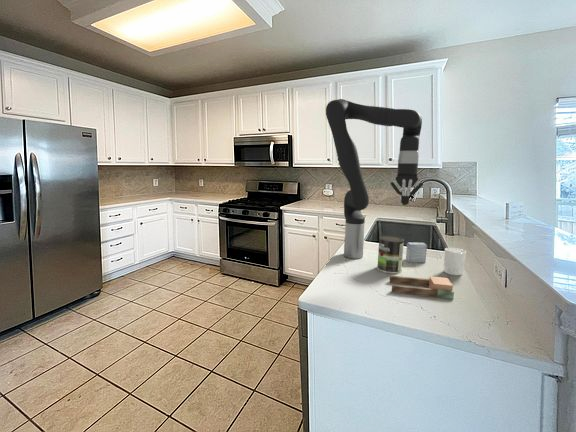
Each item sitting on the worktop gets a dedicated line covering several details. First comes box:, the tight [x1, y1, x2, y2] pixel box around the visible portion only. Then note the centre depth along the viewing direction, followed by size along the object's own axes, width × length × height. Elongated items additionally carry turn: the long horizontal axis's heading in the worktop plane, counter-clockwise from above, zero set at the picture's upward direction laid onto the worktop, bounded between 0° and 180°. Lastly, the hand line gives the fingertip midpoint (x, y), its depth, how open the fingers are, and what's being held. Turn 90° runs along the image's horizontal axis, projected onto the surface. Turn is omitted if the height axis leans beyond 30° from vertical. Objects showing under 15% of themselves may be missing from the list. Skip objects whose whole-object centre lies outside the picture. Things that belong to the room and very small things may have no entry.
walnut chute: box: [389, 275, 455, 300], centre depth 106 cm, size 20×10×2 cm, turn 75°
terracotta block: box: [428, 275, 454, 291], centre depth 104 cm, size 6×7×4 cm
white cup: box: [443, 247, 467, 276], centre depth 122 cm, size 8×8×10 cm
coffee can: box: [376, 235, 405, 275], centre depth 125 cm, size 10×10×14 cm
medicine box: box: [405, 241, 428, 263], centre depth 137 cm, size 8×4×9 cm, turn 84°
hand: (404, 204), depth 119 cm, fingers closed
